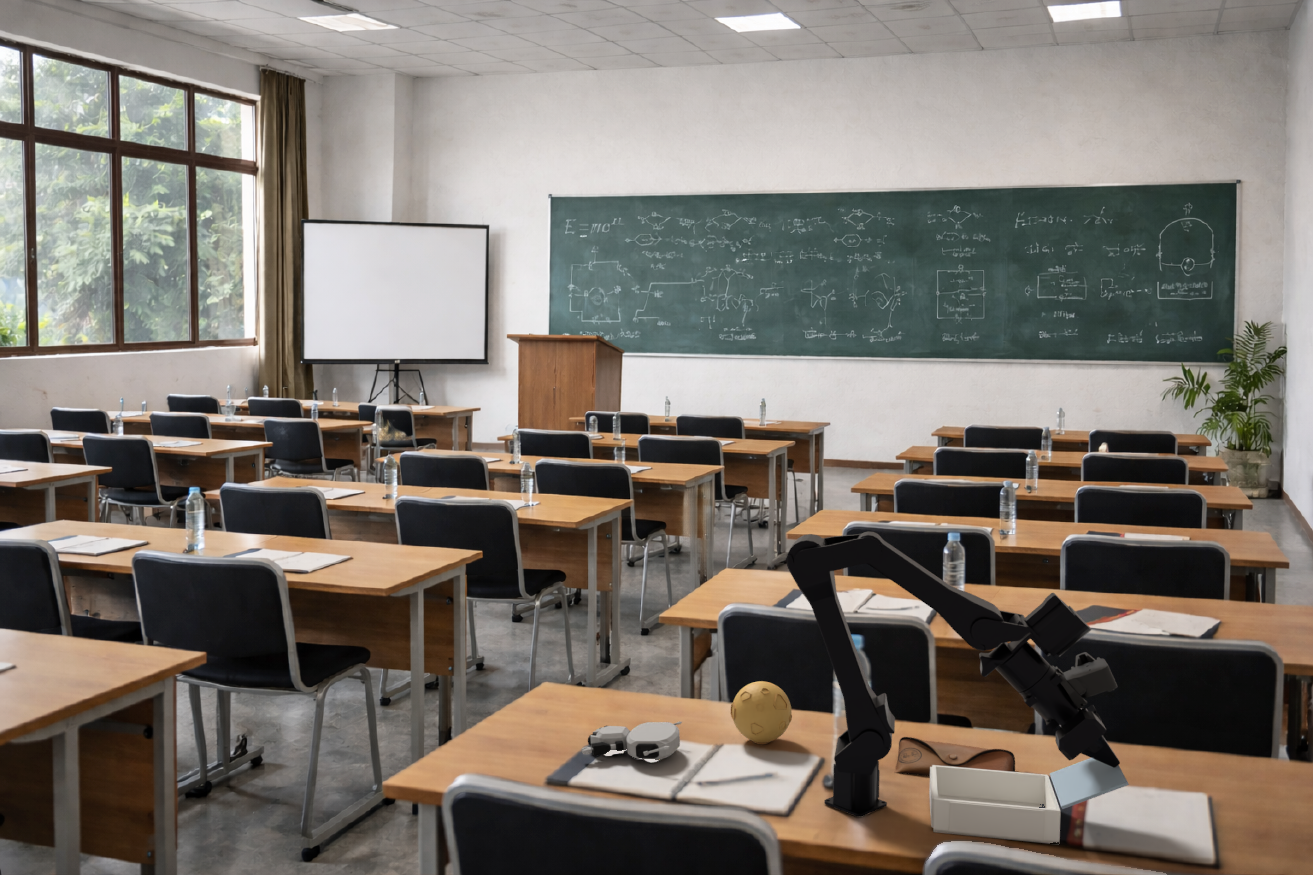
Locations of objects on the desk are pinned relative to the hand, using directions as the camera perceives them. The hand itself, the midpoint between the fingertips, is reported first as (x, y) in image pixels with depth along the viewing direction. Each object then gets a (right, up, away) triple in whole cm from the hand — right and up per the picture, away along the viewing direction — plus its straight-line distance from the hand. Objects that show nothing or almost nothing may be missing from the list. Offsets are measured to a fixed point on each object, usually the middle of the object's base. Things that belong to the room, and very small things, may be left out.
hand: (1117, 764), depth 148 cm
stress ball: (-45, -7, +34) cm, 57 cm away
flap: (-8, -4, +2) cm, 9 cm away
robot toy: (-66, -7, +28) cm, 72 cm away
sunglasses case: (-16, -8, +22) cm, 28 cm away
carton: (-16, -9, +4) cm, 18 cm away
